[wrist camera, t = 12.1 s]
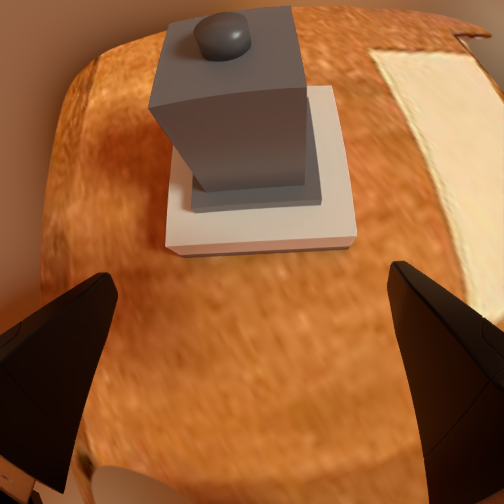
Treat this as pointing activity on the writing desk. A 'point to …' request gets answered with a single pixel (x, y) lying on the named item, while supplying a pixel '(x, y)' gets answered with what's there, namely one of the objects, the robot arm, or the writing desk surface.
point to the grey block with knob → (239, 110)
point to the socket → (271, 219)
